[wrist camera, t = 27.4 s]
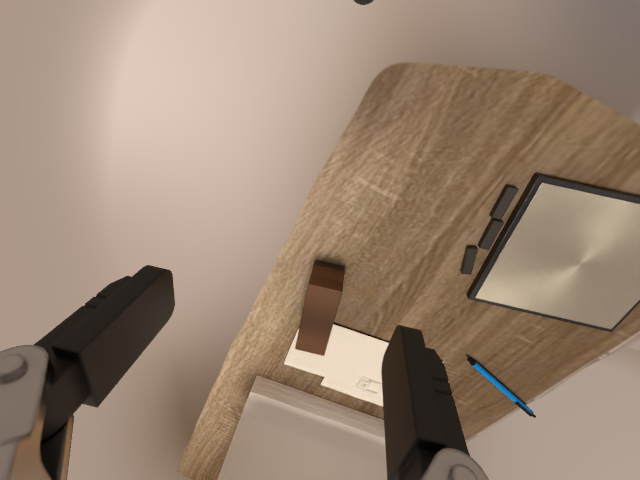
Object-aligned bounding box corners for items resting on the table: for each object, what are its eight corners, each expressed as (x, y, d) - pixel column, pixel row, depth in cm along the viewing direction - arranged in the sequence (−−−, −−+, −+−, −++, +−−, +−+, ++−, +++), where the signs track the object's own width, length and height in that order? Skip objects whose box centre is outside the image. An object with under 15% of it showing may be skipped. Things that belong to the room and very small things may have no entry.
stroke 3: (518, 189, 34) (515, 187, 34) (508, 186, 34) (505, 184, 34) (501, 220, 36) (498, 217, 36) (491, 217, 36) (488, 215, 36)
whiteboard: (534, 173, 33) (539, 176, 32) (713, 212, 33) (725, 216, 32) (466, 294, 42) (468, 300, 41) (606, 327, 42) (612, 333, 40)
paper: (446, 356, 48) (448, 362, 47) (404, 413, 57) (405, 418, 56) (300, 312, 48) (299, 316, 47) (279, 375, 56) (278, 380, 55)
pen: (530, 414, 52) (534, 421, 51) (463, 356, 48) (465, 362, 47) (535, 413, 52) (539, 419, 51) (468, 353, 47) (470, 359, 46)
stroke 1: (478, 248, 38) (476, 245, 38) (468, 248, 38) (466, 245, 39) (471, 274, 40) (469, 271, 40) (461, 274, 40) (460, 270, 40)
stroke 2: (504, 222, 36) (501, 219, 36) (494, 220, 36) (491, 217, 36) (488, 250, 38) (486, 247, 38) (479, 248, 38) (477, 245, 38)
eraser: (315, 259, 43) (308, 283, 37) (344, 266, 43) (342, 291, 37) (302, 320, 48) (294, 349, 43) (328, 326, 48) (324, 356, 43)
